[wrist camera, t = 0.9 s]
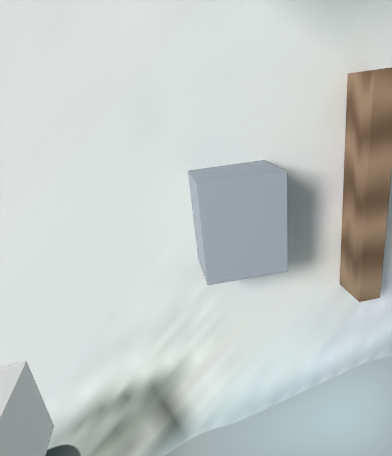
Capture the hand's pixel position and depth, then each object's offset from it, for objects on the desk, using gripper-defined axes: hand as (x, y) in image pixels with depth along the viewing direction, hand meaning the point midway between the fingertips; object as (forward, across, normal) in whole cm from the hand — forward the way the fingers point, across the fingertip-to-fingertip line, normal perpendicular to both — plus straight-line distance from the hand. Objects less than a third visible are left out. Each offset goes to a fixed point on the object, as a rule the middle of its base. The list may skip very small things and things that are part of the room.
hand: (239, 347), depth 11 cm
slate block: (+25, +6, -4) cm, 25 cm away
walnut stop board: (+24, +20, -4) cm, 32 cm away
